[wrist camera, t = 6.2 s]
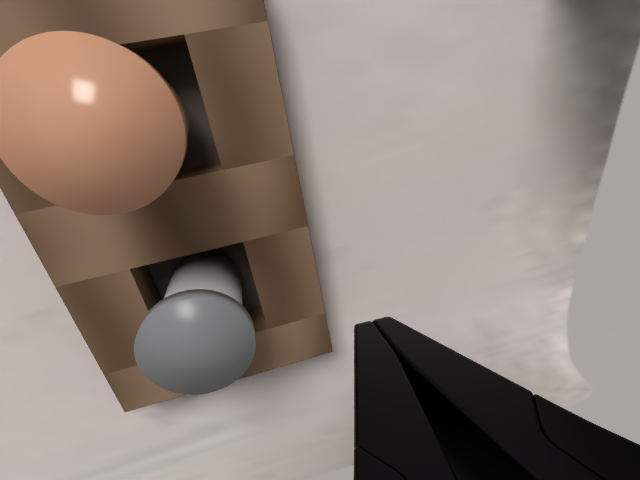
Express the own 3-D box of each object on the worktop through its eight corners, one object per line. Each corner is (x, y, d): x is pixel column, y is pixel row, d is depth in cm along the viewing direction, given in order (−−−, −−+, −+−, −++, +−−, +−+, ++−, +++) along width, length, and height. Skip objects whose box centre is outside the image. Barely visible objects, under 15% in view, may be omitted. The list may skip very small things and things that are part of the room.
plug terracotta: (180, 45, 14) (148, 16, 9) (214, 163, 16) (205, 195, 11) (53, 66, 14) (-59, 48, 8) (105, 186, 16) (39, 232, 10)
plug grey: (238, 234, 19) (239, 285, 14) (259, 306, 21) (266, 375, 16) (147, 255, 19) (113, 317, 13) (177, 328, 21) (158, 407, 15)
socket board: (247, -43, 15) (250, -67, 13) (323, 326, 23) (332, 351, 21) (-58, -2, 14) (-116, -21, 11) (136, 379, 22) (124, 412, 20)
